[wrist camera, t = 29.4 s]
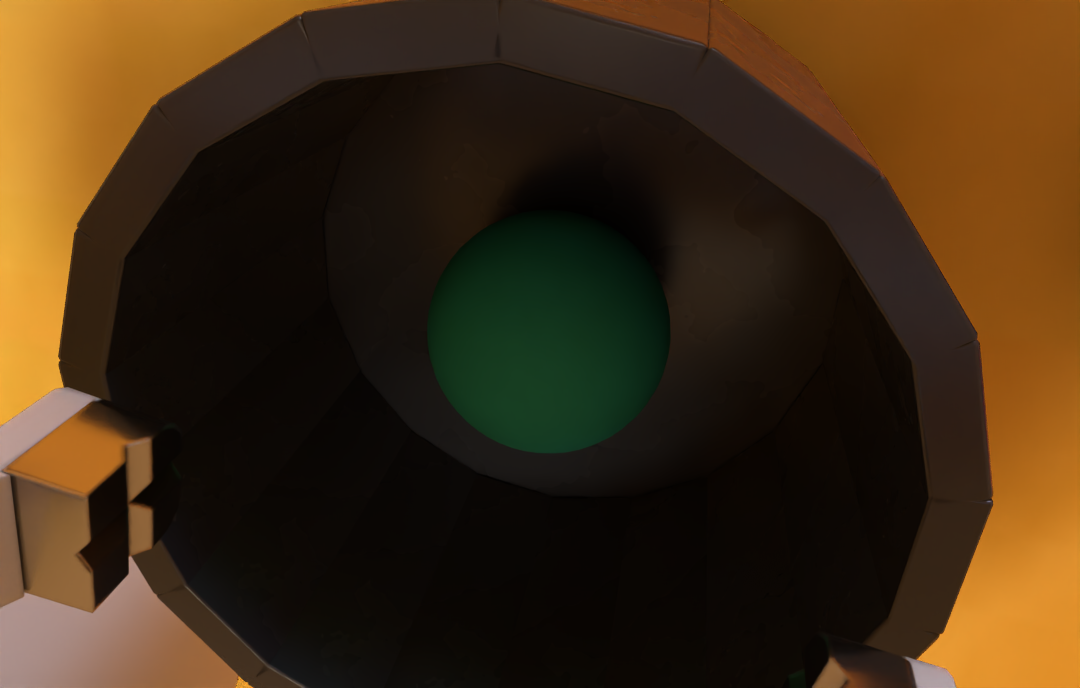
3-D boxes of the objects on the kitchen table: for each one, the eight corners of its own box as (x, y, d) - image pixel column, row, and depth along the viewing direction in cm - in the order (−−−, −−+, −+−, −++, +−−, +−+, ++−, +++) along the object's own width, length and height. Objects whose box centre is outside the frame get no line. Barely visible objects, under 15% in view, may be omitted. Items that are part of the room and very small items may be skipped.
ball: (488, 154, 18) (411, 223, 14) (707, 218, 18) (699, 310, 13) (450, 345, 20) (374, 457, 16) (642, 405, 20) (617, 536, 16)
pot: (329, -109, 17) (18, -142, 9) (995, 68, 16) (1244, 189, 8) (281, 424, 23) (77, 657, 16) (752, 569, 22) (772, 888, 15)
